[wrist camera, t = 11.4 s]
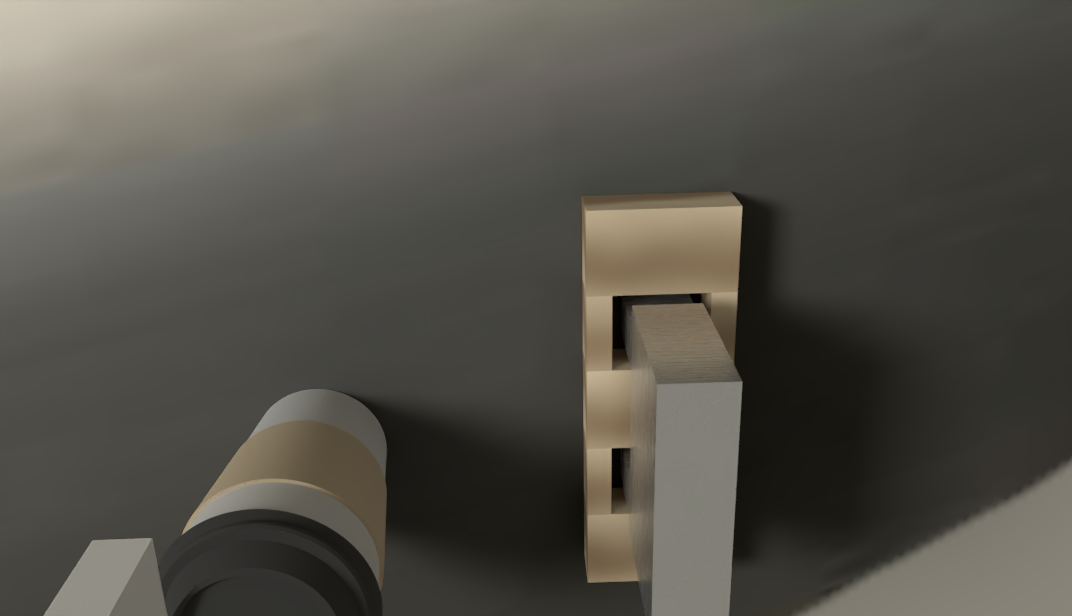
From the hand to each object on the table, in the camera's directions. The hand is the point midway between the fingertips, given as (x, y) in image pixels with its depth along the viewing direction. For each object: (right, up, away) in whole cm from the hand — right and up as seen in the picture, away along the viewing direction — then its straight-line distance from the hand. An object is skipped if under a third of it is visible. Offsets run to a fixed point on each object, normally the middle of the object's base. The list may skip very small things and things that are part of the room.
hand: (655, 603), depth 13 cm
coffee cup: (-13, -3, +39) cm, 41 cm away
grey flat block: (+4, 0, +38) cm, 38 cm away
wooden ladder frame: (+4, 0, +38) cm, 38 cm away
